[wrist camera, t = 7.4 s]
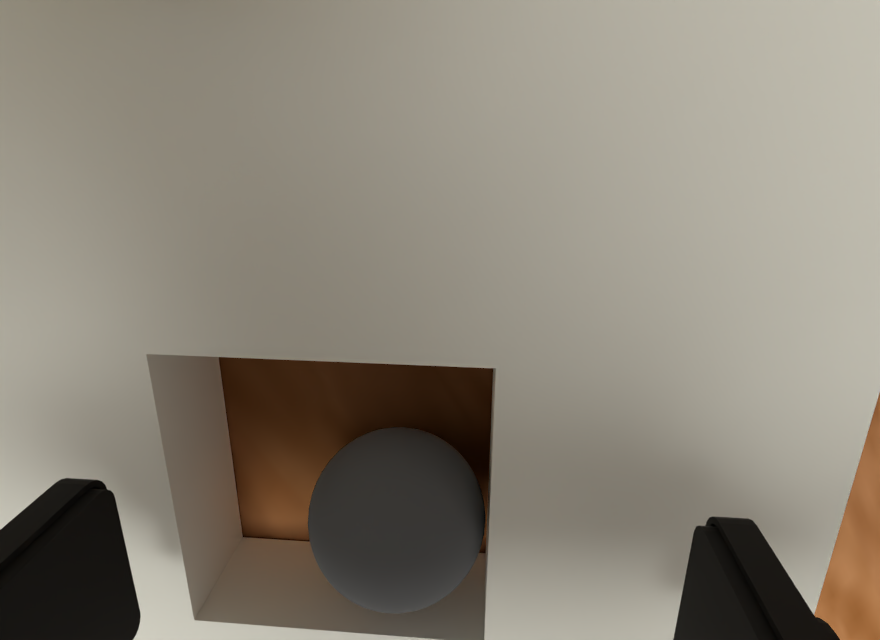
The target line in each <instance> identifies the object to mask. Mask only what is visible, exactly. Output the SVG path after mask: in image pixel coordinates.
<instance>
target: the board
mask: <svg viewBox="0 0 880 640" xmlns="http://www.w3.org/2000/svg"><path fill="white" fill-rule="evenodd" d="M219 357H231V358H255V359H279V360H304V361H328V362H352V363H376V364H400V365H425V366H449V367H473V368H493V385H492V410H491V434H490V458H489V482H488V507H487V531H486V553H478V556H477V558H476V560H475V563H474V565H473V566H472V568H471V570H470V571H469V573H468V574H467V576H466V577H465V578H464V579H463V581H462V582H461V583H460V584H459V586H458V587H456V588H455V589H454V590H453V591H452V592H451V593H450V594H449V595H447V596H446V597H444V598H443V599H441V600H440V601H438V602H437V603H435V604H433V605H431V606H428V607H426V608H423V609H420V610H417V611H413V612H406V613H400V614H394V613H382V612H376V611H372V610H369V609H366V608H363V607H361V606H359V605H357V604H355V603H353V602H351V601H349V600H348V599H347V598H345V597H344V596H343V595H341V594H340V593H339V592H338V591H337V590H336V589H335V588H334V587H333V586H332V585H331V584H330V583H329V582H328V580H327V579H326V577H325V576H324V575H323V573H322V572H321V570H320V568H319V566H318V564H317V562H316V560H315V557H314V554H313V551H312V548H311V544H310V542H308V541H293V540H278V539H263V538H248V537H243V535H242V527H241V520H240V512H239V505H238V498H237V490H236V483H235V475H234V468H233V460H232V453H231V445H230V438H229V431H228V423H227V416H226V408H225V401H224V393H223V386H222V378H221V371H220V364H219ZM879 392H880V0H0V529H2V528H3V527H4V526H5V525H6V524H8V523H9V522H10V521H11V520H12V519H13V518H15V517H16V516H17V515H18V514H19V513H20V512H22V511H23V510H24V509H25V508H26V507H28V506H29V505H30V504H31V503H32V502H33V501H35V500H36V499H37V498H38V497H39V496H40V495H42V494H43V493H44V492H45V491H46V490H47V489H49V488H50V487H51V486H52V485H53V484H55V483H56V482H57V481H59V480H61V479H65V478H75V479H91V480H99V481H102V482H103V483H104V484H105V485H106V488H107V490H111V491H112V492H113V494H114V496H115V500H116V504H117V509H118V513H119V518H120V522H121V527H122V531H123V536H124V540H125V545H126V550H127V554H128V559H129V563H130V568H131V572H132V577H133V581H134V586H135V590H136V595H137V599H138V604H139V609H140V615H141V618H140V625H139V629H138V631H137V634H136V636H135V637H134V639H133V640H673V639H674V633H675V628H676V623H677V618H678V612H679V607H680V602H681V597H682V591H683V586H684V581H685V575H686V570H687V565H688V560H689V554H690V549H691V544H692V539H693V533H694V530H695V528H696V526H705V525H706V522H707V520H708V519H709V517H712V516H714V517H731V518H748V519H751V520H753V521H754V523H755V524H756V525H757V526H758V528H759V530H760V531H761V533H762V534H763V536H764V537H765V539H766V541H767V542H768V544H769V545H770V547H771V548H772V550H773V552H774V553H775V555H776V556H777V558H778V559H779V561H780V563H781V564H782V566H783V567H784V569H785V570H786V572H787V574H788V575H789V577H790V578H791V580H792V581H793V583H794V585H795V586H796V588H797V589H798V591H799V592H800V594H801V595H802V597H803V599H804V600H805V602H806V603H807V605H808V606H809V608H810V610H811V611H812V613H813V614H814V613H815V610H816V607H817V603H818V600H819V596H820V593H821V590H822V586H823V583H824V579H825V576H826V573H827V569H828V566H829V562H830V559H831V556H832V552H833V549H834V545H835V542H836V539H837V535H838V532H839V528H840V525H841V522H842V518H843V515H844V511H845V508H846V505H847V501H848V498H849V494H850V491H851V488H852V484H853V481H854V477H855V474H856V471H857V467H858V464H859V460H860V457H861V454H862V450H863V447H864V443H865V440H866V437H867V433H868V430H869V426H870V423H871V420H872V416H873V413H874V409H875V406H876V403H877V399H878V396H879Z"/></svg>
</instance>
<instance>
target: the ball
mask: <svg viewBox="0 0 880 640" xmlns="http://www.w3.org/2000/svg"><path fill="white" fill-rule="evenodd" d="M484 528H485V508H484V500H483V495H482V492H481V488H480V485H479V483H478V480H477V478H476V476H475V474H474V472H473V470H472V469H471V467H470V466H469V464H468V463H467V461H466V460H465V459H464V458H463V457H462V455H461V454H460V453H459V452H458V451H457V450H456V449H455V448H454V447H452V446H451V445H450V444H448V443H447V442H446V441H444V440H443V439H441V438H439V437H437V436H435V435H433V434H431V433H428V432H425V431H422V430H419V429H413V428H406V427H392V428H385V429H379V430H375V431H372V432H369V433H367V434H364V435H362V436H360V437H358V438H356V439H355V440H353V441H352V442H350V443H348V444H347V445H346V446H344V447H343V448H342V449H341V450H340V451H338V453H337V454H336V455H335V456H334V457H333V458H332V459H331V460H330V461H329V463H328V464H327V465H326V467H325V468H324V470H323V471H322V473H321V475H320V477H319V479H318V481H317V483H316V485H315V488H314V491H313V494H312V497H311V502H310V507H309V516H308V530H309V539H310V544H311V548H312V551H313V554H314V557H315V560H316V562H317V564H318V566H319V568H320V570H321V572H322V573H323V575H324V576H325V577H326V579H327V580H328V582H329V583H330V584H331V585H332V586H333V587H334V588H335V589H336V590H337V591H338V592H339V593H340V594H341V595H343V596H344V597H345V598H347V599H348V600H349V601H351V602H353V603H355V604H357V605H359V606H361V607H363V608H366V609H369V610H372V611H376V612H382V613H394V614H400V613H406V612H413V611H417V610H420V609H423V608H426V607H428V606H431V605H433V604H435V603H437V602H438V601H440V600H441V599H443V598H444V597H446V596H447V595H449V594H450V593H451V592H452V591H453V590H454V589H455V588H456V587H458V586H459V584H460V583H461V582H462V581H463V579H464V578H465V577H466V576H467V574H468V573H469V571H470V570H471V568H472V566H473V565H474V563H475V560H476V558H477V556H478V553H479V551H480V548H481V544H482V540H483V536H484Z"/></svg>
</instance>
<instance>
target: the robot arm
mask: <svg viewBox="0 0 880 640" xmlns="http://www.w3.org/2000/svg"><path fill="white" fill-rule="evenodd" d="M140 618H141V615H140V609H139V604H138V599H137V595H136V590H135V586H134V581H133V577H132V572H131V568H130V563H129V559H128V554H127V550H126V545H125V540H124V536H123V531H122V527H121V522H120V518H119V513H118V509H117V504H116V500H115V496H114V494H113V492H112V491H111V490H107V488H106V485H105V484H104V483H103V482H102V481H99V480H91V479H75V478H65V479H61V480H59V481H57V482H56V483H55V484H53V485H52V486H51V487H50V488H49V489H47V490H46V491H45V492H44V493H43V494H42V495H40V496H39V497H38V498H37V499H36V500H35V501H33V502H32V503H31V504H30V505H29V506H28V507H26V508H25V509H24V510H23V511H22V512H20V513H19V514H18V515H17V516H16V517H15V518H13V519H12V520H11V521H10V522H9V523H8V524H6V525H5V526H4V527H3V528H2V529H0V640H133V639H134V637H135V636H136V634H137V631H138V629H139V625H140ZM673 640H840V639H839V638H838V636H837V635H836V633H835V632H834V631H833V629H832V628H831V627H830V626H829V625H828V623H826V622H825V621H823V620H822V619H820V618H816V617H815V616H814V614H813V613H812V611H811V610H810V608H809V606H808V605H807V603H806V602H805V600H804V599H803V597H802V595H801V594H800V592H799V591H798V589H797V588H796V586H795V585H794V583H793V581H792V580H791V578H790V577H789V575H788V574H787V572H786V570H785V569H784V567H783V566H782V564H781V563H780V561H779V559H778V558H777V556H776V555H775V553H774V552H773V550H772V548H771V547H770V545H769V544H768V542H767V541H766V539H765V537H764V536H763V534H762V533H761V531H760V530H759V528H758V526H757V525H756V524H755V523H754V521H753V520H751V519H748V518H731V517H714V516H712V517H709V519H708V520H707V522H706V525H705V526H696V528H695V530H694V533H693V539H692V544H691V549H690V554H689V560H688V565H687V570H686V575H685V581H684V586H683V591H682V597H681V602H680V607H679V612H678V618H677V623H676V628H675V633H674V639H673Z"/></svg>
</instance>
